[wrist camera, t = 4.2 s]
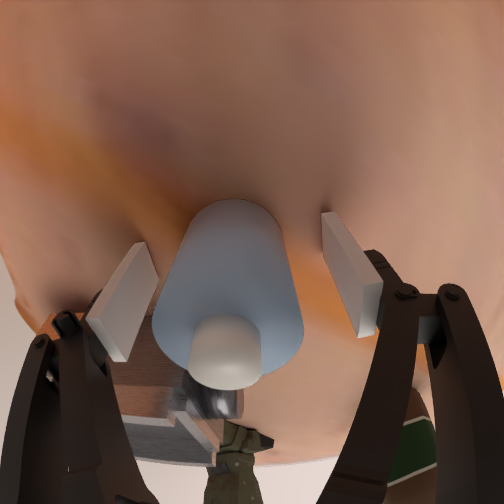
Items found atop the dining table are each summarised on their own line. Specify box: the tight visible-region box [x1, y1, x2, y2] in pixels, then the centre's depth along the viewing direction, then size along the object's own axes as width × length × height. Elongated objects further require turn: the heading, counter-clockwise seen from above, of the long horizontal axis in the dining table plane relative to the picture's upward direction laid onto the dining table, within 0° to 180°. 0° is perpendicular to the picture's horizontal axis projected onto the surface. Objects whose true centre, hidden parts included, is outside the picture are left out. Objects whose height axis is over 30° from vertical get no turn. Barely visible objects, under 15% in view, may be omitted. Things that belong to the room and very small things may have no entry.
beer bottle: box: [383, 388, 437, 504], centre depth 16 cm, size 8×8×24 cm
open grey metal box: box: [34, 312, 244, 467], centre depth 17 cm, size 15×11×8 cm
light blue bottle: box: [152, 199, 304, 390], centre depth 12 cm, size 6×6×8 cm
